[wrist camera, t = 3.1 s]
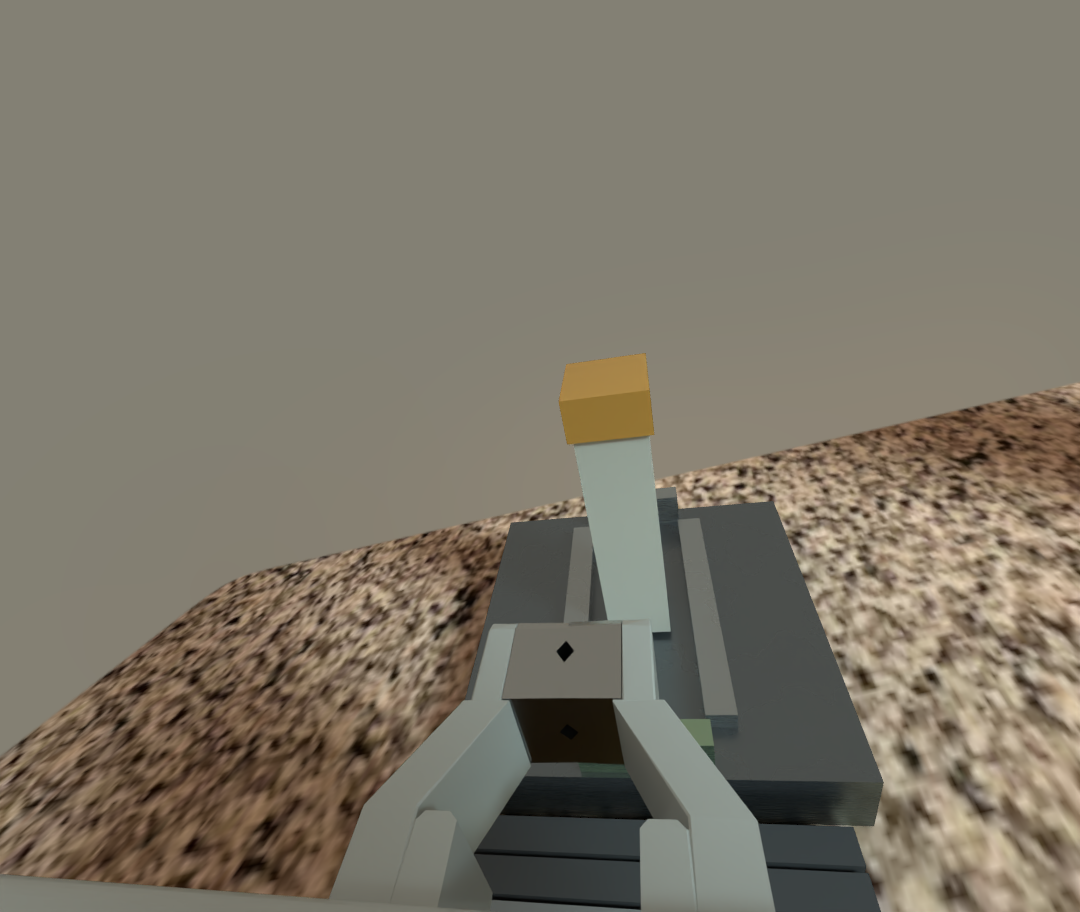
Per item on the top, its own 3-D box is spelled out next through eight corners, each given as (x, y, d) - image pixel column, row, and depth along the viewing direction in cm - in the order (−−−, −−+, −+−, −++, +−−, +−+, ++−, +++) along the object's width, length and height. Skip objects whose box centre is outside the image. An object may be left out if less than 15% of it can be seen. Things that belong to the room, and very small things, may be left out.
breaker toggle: (669, 581, 28) (645, 353, 22) (675, 634, 25) (649, 390, 19) (607, 584, 29) (566, 364, 22) (606, 637, 26) (558, 401, 20)
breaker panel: (772, 540, 34) (773, 476, 31) (873, 826, 20) (890, 752, 18) (521, 557, 37) (504, 500, 35) (465, 812, 24) (432, 749, 21)
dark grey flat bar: (850, 843, 20) (853, 826, 19) (896, 991, 17) (902, 977, 16) (484, 828, 23) (476, 814, 22) (461, 953, 19) (451, 939, 19)
